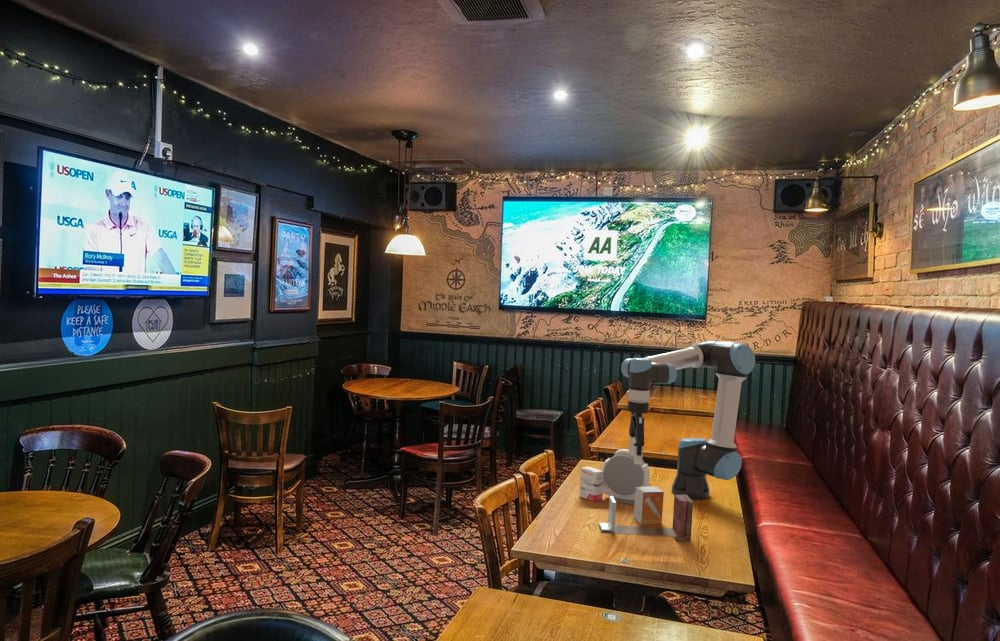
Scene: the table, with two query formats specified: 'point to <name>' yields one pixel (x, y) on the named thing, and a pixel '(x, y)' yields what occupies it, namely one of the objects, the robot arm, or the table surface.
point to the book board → (679, 530)
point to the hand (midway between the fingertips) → (634, 459)
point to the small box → (648, 505)
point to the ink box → (591, 484)
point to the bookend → (610, 516)
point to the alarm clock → (624, 476)
